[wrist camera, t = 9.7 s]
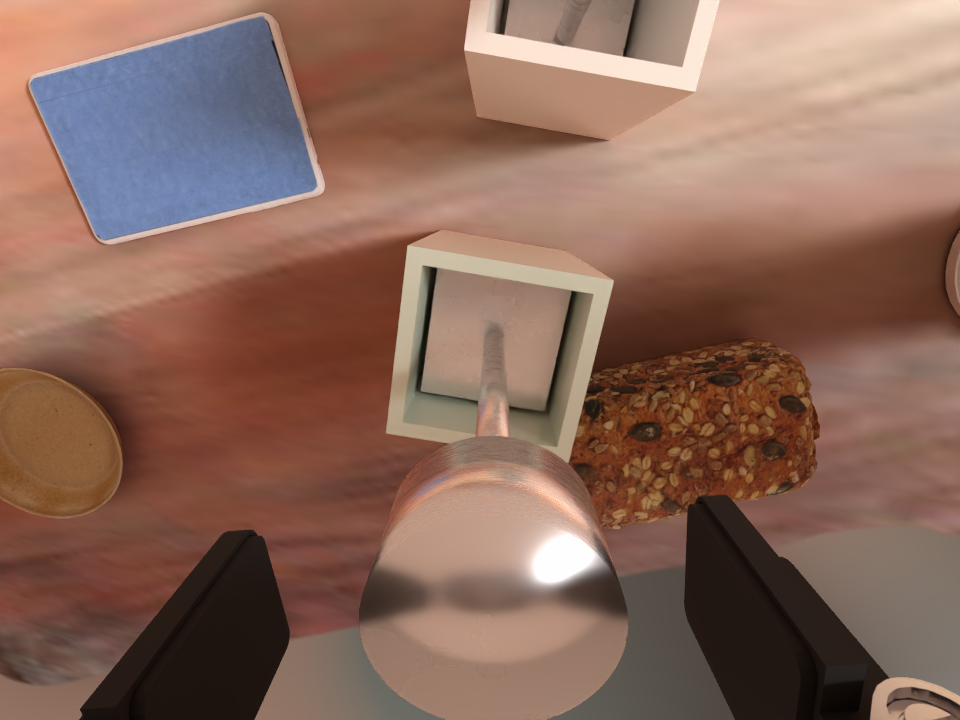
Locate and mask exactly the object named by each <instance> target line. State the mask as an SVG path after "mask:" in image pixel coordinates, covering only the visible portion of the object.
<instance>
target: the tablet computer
mask: <svg viewBox="0 0 960 720" xmlns="http://www.w3.org/2000/svg"><path fill="white" fill-rule="evenodd" d="M28 87H29V90H30V93H31V95H32V97H33V100H34V102H35V104H36V106H37V108H38V111H39V113H40V115H41V117H42V119H43V122H44V124H45V126H46V129H47V131H48V133H49V135H50V137H51V140H52V142H53V144H54V146H55V149H56V151H57V153H58V155H59V157H60V159H61V162H62V164H63V166H64V169H65V171H66V173H67V175H68V178H69V180H70V182H71V184H72V187H73V189H74V191H75V193H76V195H77V198H78V200H79V202H80V205H81V207H82V209H83V211H84V213H85V216H86V218H87V220H88V222H89V225H90V227H91V229H92V232H93V234H94V236H95V237H96V238H97V239H98V240H99V241H100V242H102V243H104V244H108V245H113V244H118V243H122V242H126V241H130V240H134V239H138V238H143V237H147V236H151V235H155V234H160V233H164V232H168V231H172V230H177V229H181V228H185V227H189V226H194V225H198V224H202V223H206V222H211V221H215V220H219V219H224V218H228V217H232V216H236V215H240V214H245V213H249V212H256V211H260V210H263V209H269V208H273V207H276V206H279V205H283V204H289V203H293V202H296V201H300V200H304V199H308V198H313V197H317V196H319V195H320V194H322V193H323V191H324V188H325V183H324V178H323V175H322V172H321V169H320V166H319V164H318V161H317V155H316V151H315V148H314V145H313V141H312V138H311V135H310V132H309V128H308V125H307V121H306V118H305V114H304V111H303V107H302V104H301V101H300V97H299V94H298V90H297V87H296V84H295V80H294V77H293V73H292V70H291V66H290V63H289V60H288V56H287V52H286V49H285V45H284V42H283V39H282V35H281V31H280V28H279V25H278V23H277V21H276V20H275V18H274V17H273V16H271V15H270V14H267V13H263V12H258V13H254V14H251V15H247V16H244V17H240V18H236V19H232V20H229V21H225V22H222V23H218V24H214V25H211V26H208V27H204V28H200V29H196V30H193V31H189V32H186V33H182V34H178V35H175V36H171V37H167V38H163V39H159V40H156V41H152V42H148V43H145V44H141V45H138V46H134V47H130V48H127V49H123V50H119V51H116V52H112V53H108V54H104V55H101V56H97V57H94V58H90V59H87V60H83V61H80V62H76V63H73V64H69V65H65V66H62V67H58V68H54V69H51V70H47V71H43V72H40V73H36V74H34V75H32V76H31V77H30V79H29V82H28Z"/></svg>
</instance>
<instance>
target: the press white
mask: <svg viewBox="0 0 960 720" xmlns="http://www.w3.org/2000/svg"><path fill="white" fill-rule="evenodd" d="M509 1H510V0H471V1H470V9H469V16H468V24H467V31H466V39H465V46H464V53H465V58H466V63H467V68H468V74H469V79H470V84H471V89H472V94H473V100H474V105H475V110H476V115H477V117H480V118H486V119H492V120H497V121H503V122H509V123H514V124H520V125H525V126H531V127H537V128H542V129H548V130H554V131H559V132H565V133H571V134H576V135H582V136H587V137H593V138H599V139H604V140H611V139H613V138H615V137H617V136H618V135H620V134H622V133H624V132H625V131H627V130H629V129H631V128H632V127H634V126H636V125H638V124H639V123H641V122H643V121H645V120H646V119H648V118H650V117H652V116H654V115H655V114H657V113H659V112H661V111H662V110H664V109H666V108H668V107H669V106H671V105H673V104H675V103H676V102H678V101H680V100H682V99H683V98H685V97H687V96H689V95H691V94H692V93H694V92H695V91H696V87H697V83H698V80H699V76H700V72H701V69H702V65H703V61H704V57H705V54H706V50H707V46H708V43H709V39H710V35H711V31H712V28H713V24H714V20H715V17H716V13H717V9H718V5H719V2H720V0H635V2H634V7H633V11H632V16H631V20H630V25H629V29H628V34H627V38H626V43H625V47H624V52H623V56H617V55H611V54H606V53H600V52H595V51H589V50H583V49H578V48H572V47H567V46H561V45H556V44H550V43H545V42H539V41H534V40H528V39H523V38H517V37H512V36H506V35H504V33H505V27H506V20H507V14H508V7H509Z"/></svg>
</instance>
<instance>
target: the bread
mask: <svg viewBox="0 0 960 720" xmlns="http://www.w3.org/2000/svg"><path fill="white" fill-rule="evenodd" d="M810 387H811V383H810V381H809V379H808V378H807V377H806V376H805V368H804V367H803V365H802V363H801V362H800V360H799V359H798V358H797V357H795V356H794V355H793V354H791V353H790V352H789V351H786V350H783V349H779V348H778V347H776V346H775V345H774V344H772V343H771V342H767V341H762V340H757V339H754V338H750V339H740V340H735V341H730V342H727V343H723V344H718V345H714V346H708V347H702V348H698V349H696V350H694V351H684V352H678V353H673V354H670V355H668V356H662V357H659V358H654V359H648V360H646V361H639V362H636V363H633V364H624V365H621V366H619V367H618V368H615V369H608V368H607V369H604V370H600V371H596V372H592V373H591V375H590V379H589V383H588V387H587V391H586V395H585V399H584V403H583V407H582V411H581V415H580V419H579V423H578V427H577V431H576V435H575V439H574V443H573V447H572V451H571V455H570V459H569V463H567V462H566V463H567V464H568V465H570V466H571V467H572V468H573V470H574V471H575V472H576V473H577V474H578V475H579V477H580V478H581V480H582V481H583V483H584V484H585V486H586V488H587V490H588V492H589V494H590V497H591V499H592V502H593V505H594V508H595V511H596V514H597V517H598V520H599V523H600V526H601V529H603V528H614V529H620V528H621V527H622V526H625V525H628V524H638V523H648V522H652V521H654V520H657V521H658V520H661V519H665V518H671V517H672V516H673V515H678V514H679V515H682V514H684V513H685V512H687V513H688V506H689V505H690V504H695V502H696V499H697V497H699V496H710V495H727V496H728V497H730V498H731V500H732V501H738V500H757V499H758V498H761V497H765V496H768V495H777V494H785V493H788V492H789V491H792V490H795V489H797V488H801V487H803V486H804V485H805V484H806V483H807V482H808V481H809V480H810V478H811V476H812V475H813V473H814V472H815V470H816V469H817V461H816V459H815V454H816V450H815V443H814V440H815V439H817V438H819V430H820V425H819V423H818V416H817V413H816V410H815V407H814V406H813V404H812V399H811V395H810V393H809V390H810Z"/></svg>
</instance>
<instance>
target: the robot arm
mask: <svg viewBox="0 0 960 720" xmlns="http://www.w3.org/2000/svg"><path fill="white" fill-rule="evenodd" d="M945 278H946V290H947V293H948V296H949V300H950V302H951V304H952V306H953V307H954V309H955V311H956V312H957V314H958V315H959V316H960V231H959V233H958V234H957V236H956V238H955V240H954V242H953V244H952V247H951V250H950V253H949V256H948V259H947V266H946V273H945ZM684 606H685V612H686V616H687V620H688V622H689V624H690V626H691V628H692V631H693V633H694V635H695V637H696V639H697V641H698V643H699V645H700V647H701V649H702V651H703V654H704V656H705V657H706V660H707V662H708V664H709V666H710V668H711V670H712V672H713V674H714V677H715V678H716V680H717V683H718V685H719V687H720V689H721V691H722V693H723V695H724V697H725V699H726V702H727V704H728V706H729V708H730V709H731V712H732V714H733V716H734V718H735V720H960V696H958V695H956V694H954V693H952V692H950V691H948V690H946V689H944V688H942V687H940V686H938V685H935V684H931V683H928V682H926V681H922V680H919V679H912V678H904V677H898V678H891V679H890V678H889V677H888V676H887V675H886V673H885V672H884V671H883V670H882V669H881V668H880V666H879V665H878V664H877V663H876V662H875V661H874V659H873V658H872V657H871V656H870V655H869V654H868V652H867V651H866V650H865V649H864V648H863V646H862V645H861V644H860V643H859V642H858V641H857V639H856V638H855V637H854V636H853V635H852V633H851V632H850V631H849V630H848V629H847V628H846V626H845V625H844V624H843V623H842V622H841V621H840V619H839V618H838V617H837V616H836V615H835V613H834V612H833V611H832V610H831V609H830V608H829V606H828V605H827V604H826V603H825V602H824V601H823V599H822V598H821V597H820V596H819V595H818V593H816V591H815V590H814V589H813V588H812V586H811V585H810V584H809V583H808V582H807V581H806V579H805V578H804V577H803V576H802V575H801V574H800V572H799V571H798V570H797V569H796V568H795V566H794V565H793V564H792V563H791V562H790V561H788V560H787V559H785V558H783V557H778V555H777V554H776V553H775V552H774V550H773V549H772V548H771V547H770V546H769V544H768V543H767V542H766V541H765V540H764V538H763V537H762V536H761V535H760V533H759V532H758V531H757V530H756V529H755V527H754V526H753V525H752V524H751V523H750V521H749V520H748V519H747V518H746V517H745V515H744V514H743V513H742V512H741V511H740V509H739V508H738V507H737V506H736V504H735V503H734V502H733V501H732V500H731V498H730V497H728V496H727V495H710V496H699V497H697V499H696V502H695V504H690V505H689V506H688V515H687V542H686V570H685V599H684ZM289 636H290V631H289V626H288V623H287V619H286V615H285V612H284V608H283V605H282V601H281V597H280V594H279V590H278V587H277V583H276V579H275V576H274V572H273V569H272V565H271V562H270V558H269V554H268V551H267V547H266V544H265V540H264V538H263V537H262V536H257V533H256V532H255V531H254V530H239V531H228V532H225V533H223V534H222V535H221V536H220V538H219V539H218V540H217V541H216V542H215V544H214V545H213V546H212V547H211V549H210V550H209V551H208V552H207V554H206V555H205V556H204V557H203V558H202V560H201V561H200V562H199V563H198V565H197V566H196V567H195V568H194V570H193V571H192V572H191V573H190V574H189V576H188V577H187V578H186V579H185V581H184V582H183V583H182V584H181V586H180V587H179V588H178V589H177V590H176V592H175V593H174V594H173V595H172V597H171V598H170V599H169V600H168V602H167V603H166V604H165V605H164V606H163V608H162V609H161V610H160V611H159V613H158V614H157V615H156V616H155V618H154V619H153V620H152V621H151V622H150V624H149V625H148V626H147V627H146V629H145V630H144V631H143V632H142V633H141V635H140V636H139V637H138V638H137V640H136V641H135V642H134V643H133V645H132V646H131V647H130V648H129V649H128V651H127V652H126V653H125V654H124V656H123V657H122V658H121V659H120V661H119V662H118V663H117V664H116V665H115V667H114V668H113V669H112V670H111V672H110V673H109V674H108V675H107V677H106V678H105V679H104V680H103V681H102V683H101V684H100V685H99V686H98V688H97V689H96V690H95V691H94V693H93V694H92V695H91V696H90V697H89V699H88V700H87V701H86V702H85V704H84V705H83V706H82V707H81V709H80V710H81V712H82V717H81V718H80V719H79V720H254V719H255V717H256V715H257V713H258V711H259V708H260V706H261V704H262V702H263V700H264V697H265V695H266V693H267V691H268V689H269V686H270V684H271V682H272V680H273V677H274V675H275V673H276V671H277V669H278V667H279V665H280V662H281V660H282V657H283V656H284V654H285V651H286V649H287V646H288V643H289Z"/></svg>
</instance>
